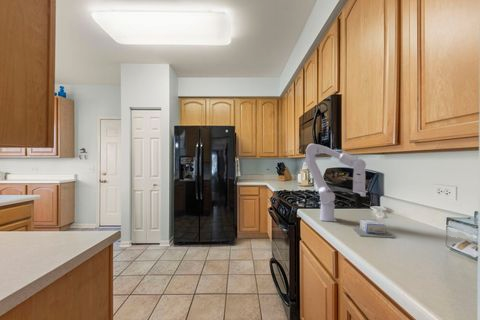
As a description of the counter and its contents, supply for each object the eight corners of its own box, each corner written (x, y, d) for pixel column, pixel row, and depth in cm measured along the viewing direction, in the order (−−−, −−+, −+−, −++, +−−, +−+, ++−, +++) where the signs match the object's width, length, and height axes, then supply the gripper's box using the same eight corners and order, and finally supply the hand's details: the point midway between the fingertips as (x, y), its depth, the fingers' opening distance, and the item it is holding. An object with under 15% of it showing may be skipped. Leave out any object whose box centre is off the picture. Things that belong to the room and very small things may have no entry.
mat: (352, 228, 115) (352, 228, 115) (384, 230, 112) (384, 229, 112) (360, 236, 104) (360, 235, 104) (394, 238, 101) (394, 237, 101)
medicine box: (376, 219, 114) (385, 224, 105) (376, 228, 114) (385, 234, 105) (359, 219, 115) (367, 223, 106) (359, 228, 115) (367, 233, 106)
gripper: (372, 183, 115) (372, 211, 115) (362, 181, 129) (362, 205, 129) (357, 183, 116) (356, 210, 116) (349, 180, 130) (348, 204, 131)
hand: (358, 207), depth 123 cm, fingers closed
